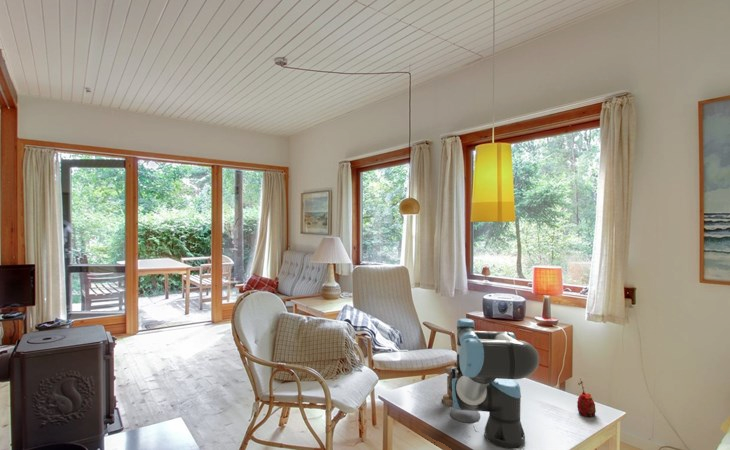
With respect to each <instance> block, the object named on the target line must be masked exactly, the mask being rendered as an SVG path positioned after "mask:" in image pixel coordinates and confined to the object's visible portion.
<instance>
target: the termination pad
mask: <svg viewBox="0 0 730 450" xmlns="http://www.w3.org/2000/svg"><path fill="white" fill-rule="evenodd" d="M449 415H450V417H452V419H454V420H456V421H458V422H461V423H466V424H468V423H469V424H473V423H477V422H479V421H480V420H481V413H480V411H470V410H458V409H455V408H454V407H453V408H451V410H450V413H449Z"/></svg>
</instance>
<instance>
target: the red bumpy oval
mask: <svg viewBox="0 0 730 450" xmlns="http://www.w3.org/2000/svg"><path fill="white" fill-rule="evenodd" d="M579 380H580V381H578V382H577V385H579V386H580V385H581V386H582V387H581V388H582V392H581V394H580V395H579V396H578V397H577V403H576V404H577V405H576V406H577V411H578V413H579V414H580V415H581V416H582V417H585V418H587V417H589V418H591V417H595V416H596V412H597V410H596V404H595V401H594V400H593V396H592V395H591V394H590V393H586V392H585V387H584V384H583V381H582V378H579Z"/></svg>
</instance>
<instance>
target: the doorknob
mask: <svg viewBox="0 0 730 450" xmlns="http://www.w3.org/2000/svg"><path fill="white" fill-rule="evenodd" d="M450 367H452V368H454V367H455V366H452V365H451V366H446V367H445V369H444V370H445V371H444V373H445V374H447V375H446V377H447V378H446V381H447V383H446V387H447V388H446V393H445V394H443V396H442V402H443V403H444V404H445V405H446V406H447V405H448V406H449V407H450V406H451V407H454V406H453V396H452V391H450V389H449V381H450V374H451V371H450ZM457 373H458V370H456V373H455V378H457Z"/></svg>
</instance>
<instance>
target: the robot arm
mask: <svg viewBox="0 0 730 450" xmlns="http://www.w3.org/2000/svg"><path fill="white" fill-rule="evenodd" d="M475 328H476V325H475V321H474V320H473V319H471V318H463V317H462V318H459V319H457V323H456V353H457V354H456V364H455V365H456V366H453V367H454V368H452V367H451V366H449V367H450V371H451V374H450V381H449V389H450V391H452V396H453V406H452V407H453V408H455V409H458V410H470V411H478V412H489V416H488V418H487V420H486V423H485V427H484V436H485V438H486V439H487V441H488V442H490V443H491V444H493V445H495V446H497V447H500V448H504V449H518V448H522V447H524V445H525V444H526V434H525V432H524V428H523V425H522V421H521V401H522V400H521V398H522V392H521V386H520V384H519V382H517V381H515V380H521V379H524V378H527V377H529V376H531V375H533V374H534V373H535V372H536V370H537V369H538V367H539V364H540V355H539V352H538V351H537V349H536V347H534V345H532V344H530V343H529V342H527V341H525V340H518V339H517V337H516V335H515V333H513V332H512V331H511V332H510V331H492V330H491V331H490V330H489V331H487V330H475ZM456 370H458V373H457V378H455V373H456Z"/></svg>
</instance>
